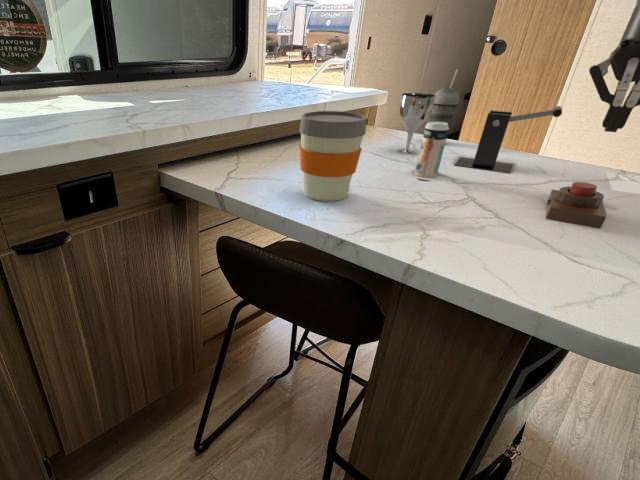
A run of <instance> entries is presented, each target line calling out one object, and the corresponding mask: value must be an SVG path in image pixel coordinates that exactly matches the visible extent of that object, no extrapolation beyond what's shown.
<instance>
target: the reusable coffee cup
mask: <svg viewBox="0 0 640 480" xmlns="http://www.w3.org/2000/svg"><path fill="white" fill-rule="evenodd" d="M366 131H367V116H366V115H364V114H362V113H357V112H351V111H342V110H340V111H339V110H319V111H318V110H317V111H309V112H304V113H303V114H301V119H300V124H299V133H300V140H301V141H300V143H301V144H300V145H299V166H300V168H299V169H300V171H301V172H302V189H303V190H302V191H303V192H302V193H303V195H304V196H305V197H306V198H308V199H312V200H315V201H321V202H336V201H341V200H344V199H345V198H347V196H348V192H349V189H350V184H351V181H352V177H353V175H354V174H355V173H356V170H357V167H358V164H359V159H360V157H361V153H362V150H363V149H362V147H361V145H362V141H363V137H364V136H365V135H366V134H367V133H366Z"/></svg>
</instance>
